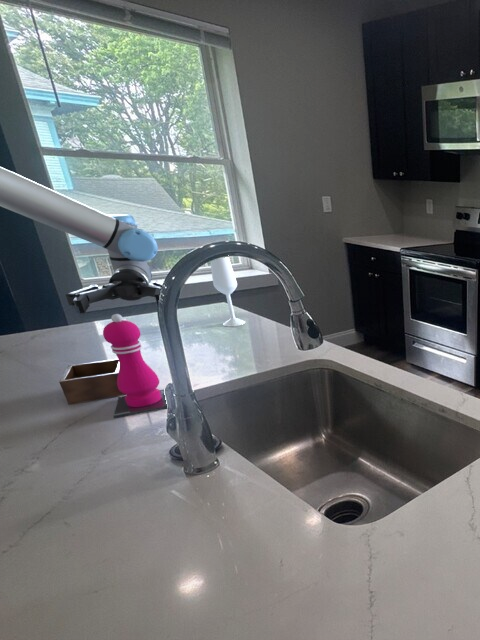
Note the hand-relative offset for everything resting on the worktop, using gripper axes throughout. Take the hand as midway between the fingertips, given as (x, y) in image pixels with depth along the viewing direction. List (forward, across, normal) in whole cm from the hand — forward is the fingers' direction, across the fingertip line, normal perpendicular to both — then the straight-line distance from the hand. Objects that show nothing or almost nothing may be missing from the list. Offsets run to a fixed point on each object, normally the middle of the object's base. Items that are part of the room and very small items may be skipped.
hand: (120, 303), depth 103 cm
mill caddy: (-2, +9, -20) cm, 22 cm away
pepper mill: (+10, 0, -20) cm, 22 cm away
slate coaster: (+10, 0, -20) cm, 23 cm away
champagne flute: (-44, -21, -20) cm, 53 cm away
